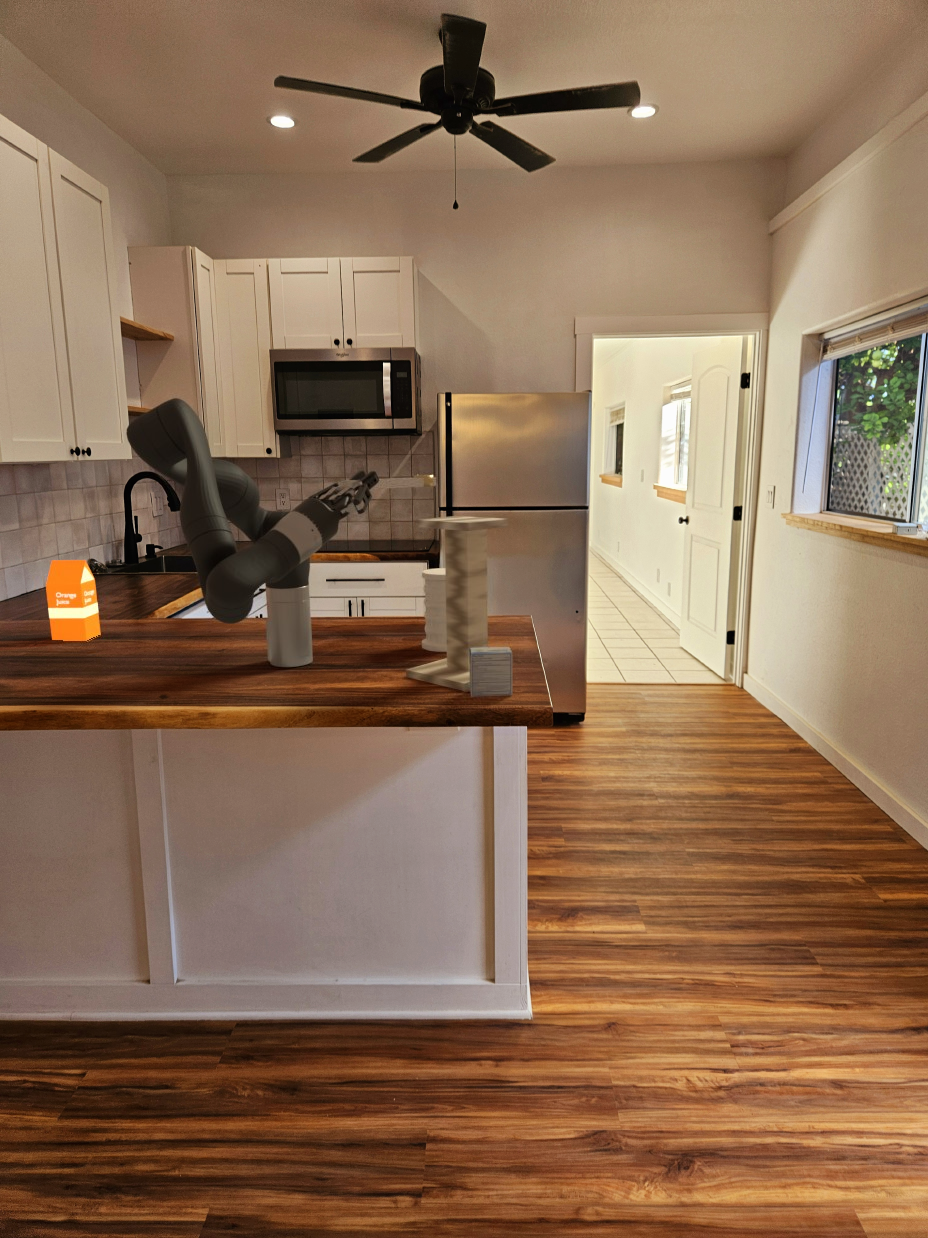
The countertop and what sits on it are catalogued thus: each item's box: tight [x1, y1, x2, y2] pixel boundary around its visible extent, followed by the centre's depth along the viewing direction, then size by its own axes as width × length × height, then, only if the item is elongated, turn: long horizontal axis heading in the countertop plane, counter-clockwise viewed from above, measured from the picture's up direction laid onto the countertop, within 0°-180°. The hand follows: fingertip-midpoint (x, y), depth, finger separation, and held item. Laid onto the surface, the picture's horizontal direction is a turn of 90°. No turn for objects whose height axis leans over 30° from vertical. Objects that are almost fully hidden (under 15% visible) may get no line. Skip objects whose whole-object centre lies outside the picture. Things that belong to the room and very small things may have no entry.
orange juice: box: [45, 559, 101, 642], centre depth 202 cm, size 8×9×20 cm
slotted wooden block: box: [340, 474, 437, 491], centre depth 144 cm, size 4×21×2 cm, turn 138°
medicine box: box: [469, 646, 513, 698], centre depth 152 cm, size 8×4×9 cm, turn 94°
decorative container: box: [421, 567, 447, 653], centre depth 189 cm, size 12×12×18 cm
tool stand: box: [405, 515, 510, 692], centre depth 162 cm, size 16×15×32 cm
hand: (369, 475), depth 140 cm, fingers closed on slotted wooden block, 2 cm apart
